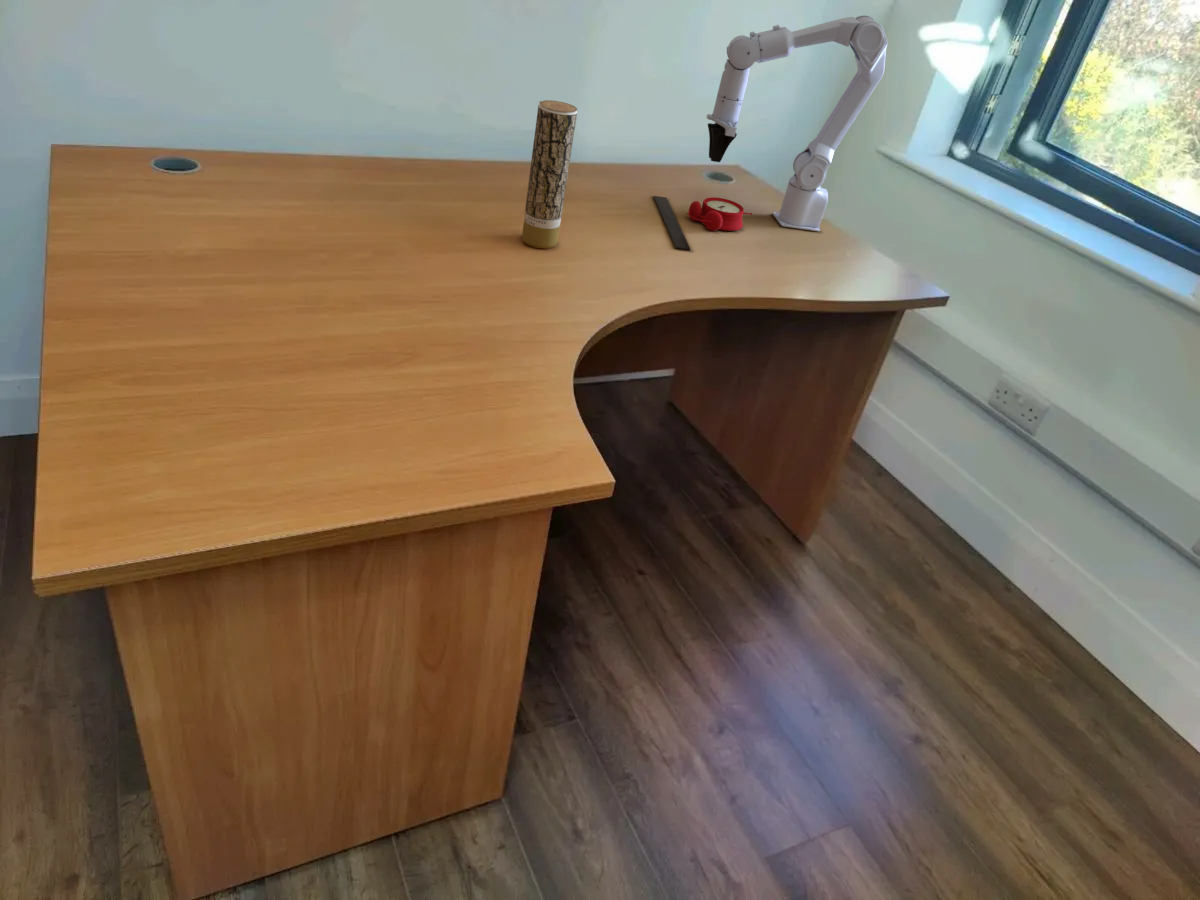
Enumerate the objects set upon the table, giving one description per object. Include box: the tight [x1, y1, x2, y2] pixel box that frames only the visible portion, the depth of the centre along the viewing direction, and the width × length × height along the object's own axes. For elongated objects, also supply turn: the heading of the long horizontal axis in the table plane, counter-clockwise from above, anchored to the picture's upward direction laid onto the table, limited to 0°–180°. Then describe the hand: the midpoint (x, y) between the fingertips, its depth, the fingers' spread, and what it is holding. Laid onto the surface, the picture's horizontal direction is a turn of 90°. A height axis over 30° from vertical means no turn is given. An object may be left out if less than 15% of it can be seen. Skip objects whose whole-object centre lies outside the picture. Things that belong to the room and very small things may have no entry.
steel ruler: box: [653, 195, 691, 252], centre depth 180 cm, size 3×30×1 cm, turn 6°
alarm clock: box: [686, 197, 753, 232], centre depth 183 cm, size 10×6×15 cm
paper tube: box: [521, 99, 578, 250], centre depth 151 cm, size 7×7×25 cm
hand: (714, 159), depth 188 cm, fingers closed
